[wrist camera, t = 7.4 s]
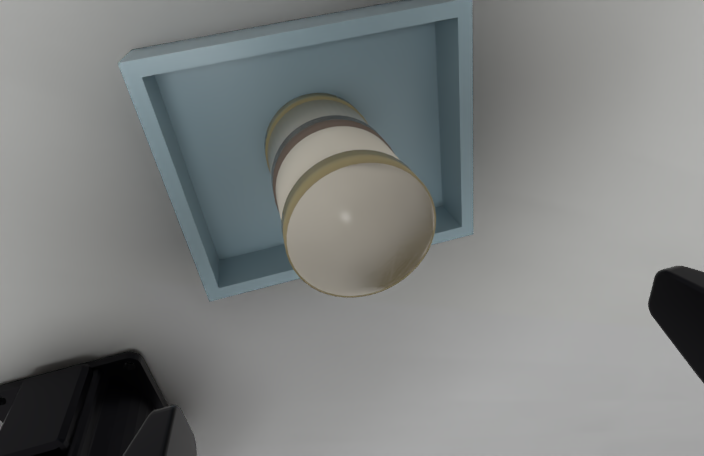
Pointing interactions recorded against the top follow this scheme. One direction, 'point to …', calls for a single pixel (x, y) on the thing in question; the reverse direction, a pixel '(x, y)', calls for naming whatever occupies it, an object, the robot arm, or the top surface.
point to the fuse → (345, 199)
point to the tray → (281, 87)
